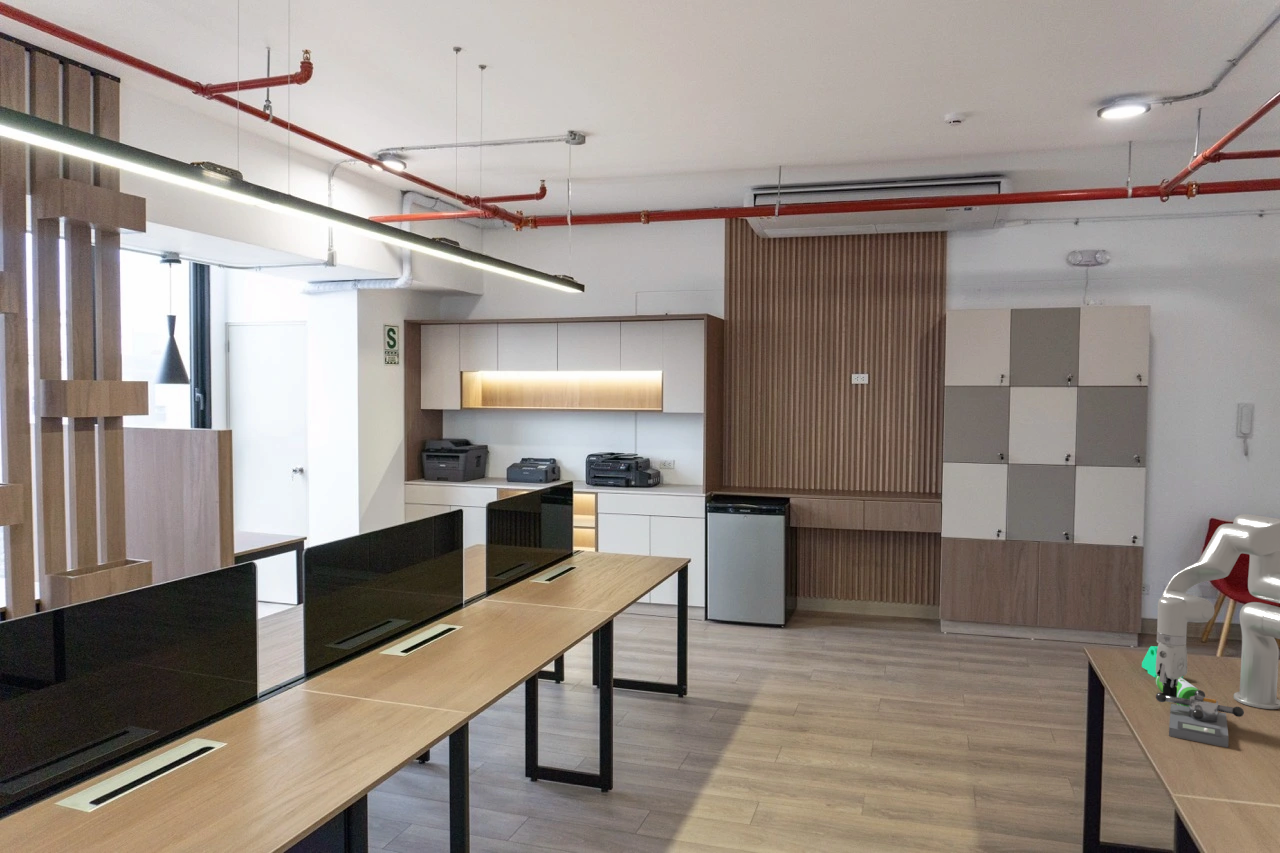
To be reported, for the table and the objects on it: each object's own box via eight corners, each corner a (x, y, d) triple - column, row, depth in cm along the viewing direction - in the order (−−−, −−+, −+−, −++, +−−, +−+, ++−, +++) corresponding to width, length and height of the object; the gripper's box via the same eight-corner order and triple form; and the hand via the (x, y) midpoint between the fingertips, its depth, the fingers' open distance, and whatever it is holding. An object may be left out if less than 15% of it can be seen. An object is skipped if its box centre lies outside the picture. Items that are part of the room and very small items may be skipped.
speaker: (1204, 712, 264) (1206, 688, 264) (1179, 711, 265) (1180, 687, 265) (1177, 692, 282) (1178, 669, 281) (1153, 690, 283) (1154, 668, 282)
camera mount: (1184, 682, 292) (1185, 652, 291) (1161, 681, 292) (1162, 652, 291) (1163, 670, 304) (1164, 641, 303) (1141, 670, 304) (1142, 641, 303)
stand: (1170, 711, 265) (1171, 696, 264) (1225, 721, 257) (1226, 706, 257) (1168, 736, 246) (1169, 720, 245) (1228, 748, 238) (1229, 731, 238)
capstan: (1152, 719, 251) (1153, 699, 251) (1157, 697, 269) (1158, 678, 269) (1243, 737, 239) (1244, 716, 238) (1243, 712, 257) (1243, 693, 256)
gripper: (1172, 646, 252) (1170, 708, 253) (1197, 637, 260) (1194, 697, 261) (1145, 640, 258) (1143, 700, 259) (1170, 631, 266) (1168, 689, 267)
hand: (1169, 698), depth 260 cm, fingers closed
